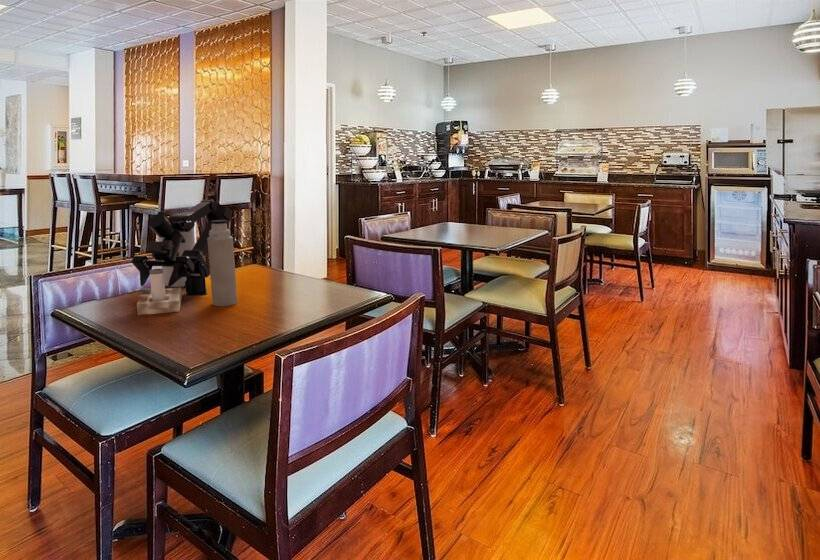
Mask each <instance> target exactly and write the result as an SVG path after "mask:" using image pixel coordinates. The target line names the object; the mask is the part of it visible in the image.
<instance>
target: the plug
mask: <svg viewBox="0 0 820 560" xmlns="http://www.w3.org/2000/svg"><path fill="white" fill-rule="evenodd" d="M149 274H150V275H149V281H150V282H149V283H150V290H151V292H152V302H153V301H165V300H166V295H165V289H166V286H165V285H164V275H163V269H162V268H152V270H149Z"/></svg>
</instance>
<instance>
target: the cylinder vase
mask: <svg viewBox="0 0 820 560" xmlns="http://www.w3.org/2000/svg"><path fill="white" fill-rule="evenodd" d="M194 227H195V226H194ZM194 227H193V228H192V229H191V230H190V231H189V232H180V233H181V234H182V235H183V237H184V239H185V241H186V242H185V243H181V244H180V247H179V250H178V252H179V256H182V254H183V252H184V251H185V250H192V249H193V247H194V246H195V244H196V241H195V228H194ZM162 239H163V238H161V237H158V242H162ZM176 257H177V256H176ZM175 259H176V258H175ZM175 261H176V260H175ZM161 269H163V275H164V285H165V287H167V286H168V283H169V280H170V277H171V274H172V272H173V267H163V266H161ZM185 280H187V279H186V277H181V278H180V279H179V280H178V281H177V282H175V283H174V284H173V285H172V286H171V287H170V288H185V287H184V286H185Z"/></svg>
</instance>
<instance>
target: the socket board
mask: <svg viewBox="0 0 820 560" xmlns="http://www.w3.org/2000/svg"><path fill="white" fill-rule="evenodd" d="M165 295H166V300H165V301H153V302H152V292H151V287H145V288H141V294H139V295H138V296H137V299H138V301H137V303H136V311H137V316H142V315H144V316H145V315H153V314H154V315H155V314H164V313H165V314H167V313H178V312H180V311H181V305H182V299H183V298H182V297H183V296H182V287H168V288H165Z"/></svg>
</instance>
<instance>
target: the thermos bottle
mask: <svg viewBox="0 0 820 560" xmlns="http://www.w3.org/2000/svg"><path fill="white" fill-rule="evenodd" d="M211 223H212V225H211V227H212V229H211V230H210V231H209V237H208V238H207V241H208V252H207V253H208V262H209V265H208V266H209V269H210V275H209V276H210V286H211V301H212V305H213V306H216V307H228V306H233V305H235V304H237V303H238V292H237V278H236V277H237V276H236V264H235V248H234V237H233V236H232V235H231V230H230V229H229V228H228V224H226V223H227V221H226V220H214V221H211Z"/></svg>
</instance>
